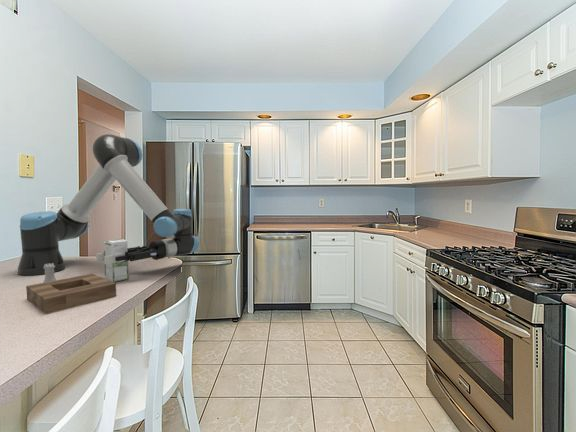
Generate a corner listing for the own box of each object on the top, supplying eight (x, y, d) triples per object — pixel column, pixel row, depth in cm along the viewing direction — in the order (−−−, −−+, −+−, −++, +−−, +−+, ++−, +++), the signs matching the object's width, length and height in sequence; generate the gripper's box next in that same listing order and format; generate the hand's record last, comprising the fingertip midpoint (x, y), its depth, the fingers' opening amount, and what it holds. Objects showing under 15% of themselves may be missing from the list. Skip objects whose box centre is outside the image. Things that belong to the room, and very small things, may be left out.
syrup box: (120, 276, 121) (119, 238, 119) (129, 279, 117) (127, 239, 116) (105, 280, 116) (102, 240, 115) (113, 283, 113) (111, 242, 111)
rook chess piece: (44, 286, 109) (42, 263, 108) (60, 284, 111) (58, 262, 110) (40, 290, 105) (38, 266, 104) (56, 288, 107) (55, 264, 106)
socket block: (27, 299, 96) (26, 286, 96) (92, 284, 110) (92, 273, 110) (45, 313, 85) (44, 298, 85) (116, 295, 99) (115, 283, 99)
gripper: (175, 261, 124) (113, 274, 106) (150, 255, 136) (90, 265, 118) (175, 242, 124) (111, 251, 106) (150, 237, 135) (89, 245, 117)
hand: (100, 259), depth 112 cm, fingers closed on syrup box, 6 cm apart
